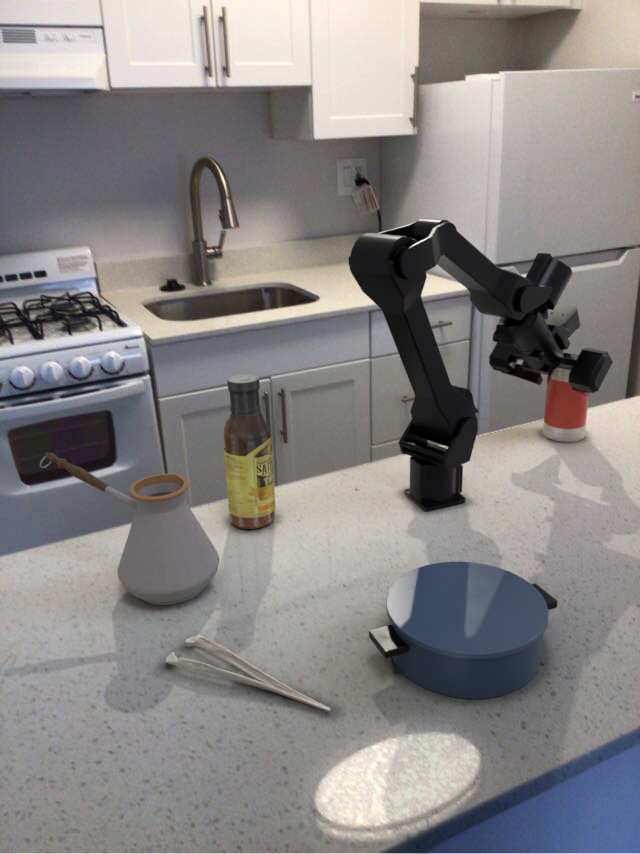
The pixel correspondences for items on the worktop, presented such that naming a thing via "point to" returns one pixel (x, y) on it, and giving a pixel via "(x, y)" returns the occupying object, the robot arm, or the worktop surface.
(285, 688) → the tweezers
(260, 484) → the sauce bottle
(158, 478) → the coffee pot
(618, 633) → the worktop surface
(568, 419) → the tin can
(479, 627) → the enamel pot
